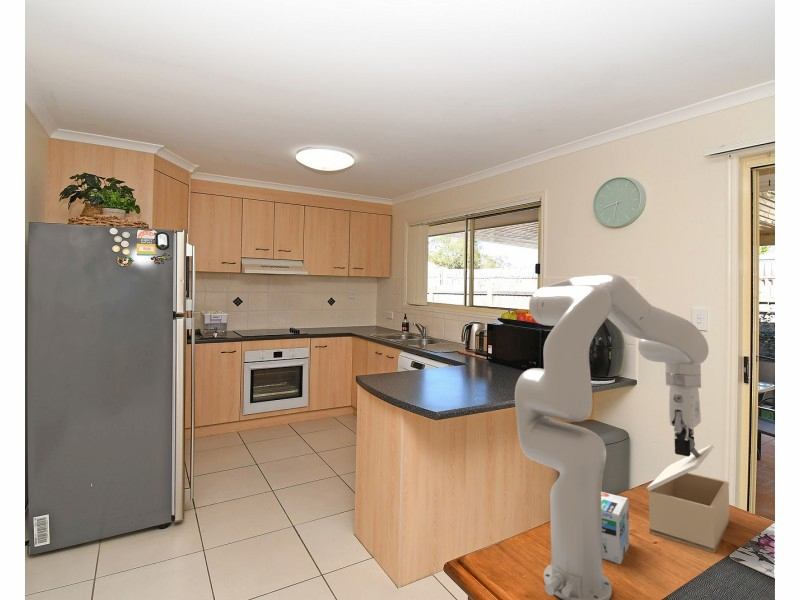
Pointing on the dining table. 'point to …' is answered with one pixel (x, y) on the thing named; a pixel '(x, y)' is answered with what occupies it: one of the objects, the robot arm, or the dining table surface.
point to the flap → (682, 465)
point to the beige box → (690, 510)
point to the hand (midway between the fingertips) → (684, 452)
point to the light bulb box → (614, 527)
